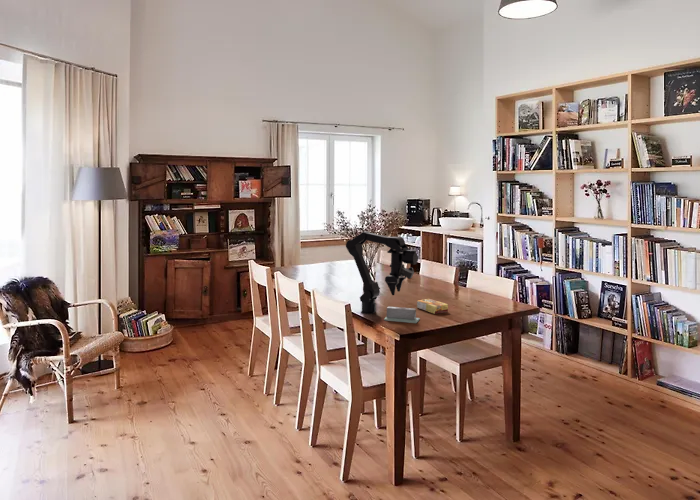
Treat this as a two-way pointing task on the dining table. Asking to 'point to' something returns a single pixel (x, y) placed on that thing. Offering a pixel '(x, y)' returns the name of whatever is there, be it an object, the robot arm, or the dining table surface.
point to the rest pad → (402, 320)
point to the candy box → (432, 306)
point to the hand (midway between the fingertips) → (395, 293)
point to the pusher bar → (401, 313)
